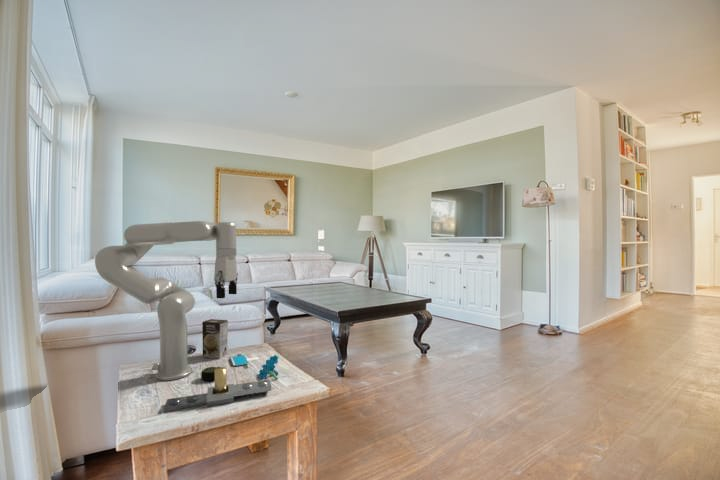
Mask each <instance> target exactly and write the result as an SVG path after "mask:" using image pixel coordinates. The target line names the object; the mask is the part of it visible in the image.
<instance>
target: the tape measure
mask: <svg viewBox="0 0 720 480" xmlns="http://www.w3.org/2000/svg"><path fill="white" fill-rule="evenodd" d="M219 367H220V366H209V367H205V368H204V369H202V370H201V372H200V373H201V374H200V377H201V380H202V381H207V382H209V381H215V369H216V368H219Z"/></svg>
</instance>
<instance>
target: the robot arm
mask: <svg viewBox="0 0 720 480" xmlns="http://www.w3.org/2000/svg"><path fill="white" fill-rule="evenodd" d="M236 225H237V224H236V223H234V222H231V221H221V222H210V221H205V220H204V221H202V220H194V221H193V220H192V221H179V222H178V221H177V222H175V221H174V222H159V223H158V222H155V223H154V222H153V223H140V224H139V223H137V224H133V225H129V226H128V227H127V228H126V229H125V230H124V233H123V238H124V240H125V242H126V243H125V244H124V245H110V246H106V247H103V248H101V249H100V250H99V251H98V252H97V254H96V255H95V258H94V265H95V269H96V271H97V273H98V275H99V276H100V277H101V278H102V279H103V280H105V282H107V283H109V284H110V285H113V286H114V287H116V288H118V289H120V290H121V291H123V292H124V293H126V294H128V295H129V296H131V297H132V298H134V299H136V300H138V301H139V302H141V303H143V304H146V305H148V304H149V305H151V304H154V303H157V302H158V304H157V308H156V311H157V312H156V314H157V318H158V322H159V323H158V324H159V353H160V354H159V355H160V356H159V357H160V359H159V362H154V363H153V365H152V367H151V370H153V371H157V373H156V374H155V378H156V379H157V380H159V381H174V380H179V379H182V378H185V377H188V376H190V375H191V374H192V372H193V367H192V366H189V363H188V360H189V359H188V357H189V355H188V354H189V353H188V323H187V318H186V314H187V313H189V312H191V310H193V309H194V307H195V304H196V299H195V297H194V295H193V294H192V293H191V291H188V289H186V288H183V287H182V286H180V285H178V284H176V283H175V282H173V281H172V280H170V279H167V278H164V277H153V278H150V277H148V276H146V275H144V274H142V273H140V272H139V271H138V270H135V269H133V268H130V266H133V265H135V264H136V263H138V262H139V261H140V260H141V259H142V258H143V257H144V256H145V255H146V254H147V253H149V251H150V250H151V249H153V247H154V246H163V245H173V244H176V243H182V242H202V241H203V242H209V241H215V263H214V277H213V280H214V285H215V289H216V290H215V291H216V293H215V295H216V299H225V298H226V288H225V285H226V283H229V284H228V294H229V295H237V294H238V291H237V290H238V289H237V285H238V277H239V273H238V271H237V269H238V267H237V258H236V257H237V226H236Z"/></svg>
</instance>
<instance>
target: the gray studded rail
mask: <svg viewBox="0 0 720 480" xmlns="http://www.w3.org/2000/svg"><path fill="white" fill-rule="evenodd" d="M270 380H271V379H263V380H262V379H261V380H257V381H250V382H244V383H235V384H234V383H230V384H227V392H225V393H219V394H215V385H214V386H210V387H209V386H208V387H207V393H199V394H192V395H187V396H186V395H185V396H180V397H179V396H178V397H173V398H167V399H166V402H165V405H164V407H163V413H169V412H176V411H181V410H182V411H183V410H187V409H189V410H190V409H194V408H199V407H207V408H208V407H214V406H215V407H216V406H220V405H226V404H232V403H233V404H234V403H235V402H234V400H235V399H234V398H235V397H238V396H239V397H240V396H242V397H243V398H249V397H252V396H253V394H258V395H260V396H261V395H266V394H268V392H270V391H272V383H271V381H270Z"/></svg>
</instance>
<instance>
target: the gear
mask: <svg viewBox="0 0 720 480" xmlns="http://www.w3.org/2000/svg"><path fill="white" fill-rule="evenodd" d="M278 362H279V356H278V355H276V354H274V355H272V356H270V357H269V359H266V360H265V363H263V364H262V365H261V368H262V369H259V371H258V373H259V374H258V376H257V377H258V378H260V379H261V380H262V379H263V380H264V379H266V378H267V376H268V375H269V377H271V378H274V379H275V380H278V379H279V377H278V375H279V372H278V371H277V370H276V369H275V368H277V367H276V364H278Z"/></svg>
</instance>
